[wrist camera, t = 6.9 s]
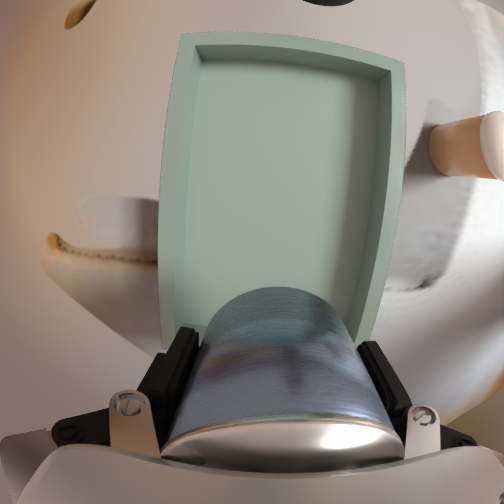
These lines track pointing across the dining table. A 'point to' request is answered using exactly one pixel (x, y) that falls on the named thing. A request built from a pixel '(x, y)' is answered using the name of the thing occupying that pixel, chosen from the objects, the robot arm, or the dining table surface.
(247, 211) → the tray
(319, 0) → the cola bottle
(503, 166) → the jar
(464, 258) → the dining table surface
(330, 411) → the tin
